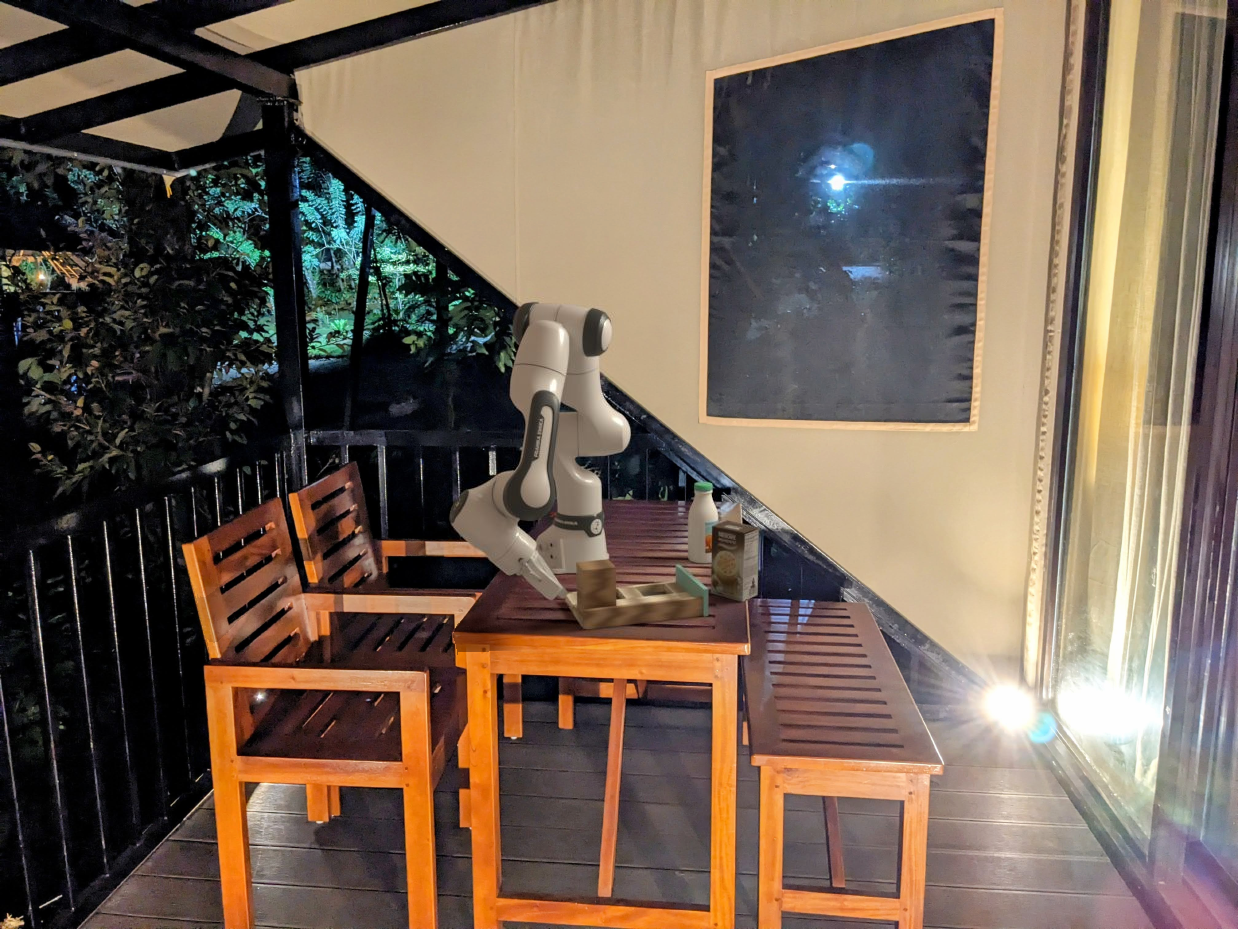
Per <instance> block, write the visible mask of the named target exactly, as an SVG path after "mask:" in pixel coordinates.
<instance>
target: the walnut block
mask: <svg viewBox="0 0 1238 929" xmlns="http://www.w3.org/2000/svg"><path fill="white" fill-rule="evenodd" d="M616 568H617V566H615V564H613V563H612V561H610V560H609V559H605V560H595V561H584V562H576V573H575V574H576V575H575V576H576V592H577V608H578V609H579V611H580V612H581V614H582V610H584V609H593V608H601V607H610V606H616V587H617V569H616Z"/></svg>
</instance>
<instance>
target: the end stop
mask: <svg viewBox="0 0 1238 929" xmlns="http://www.w3.org/2000/svg"><path fill="white" fill-rule="evenodd" d="M675 581H676V582H677V583H678V584H679V585H680V586H681V587H682V588H683V589H684V590H685V591H686V592H688V593H689V594H690V595H691V596H692V597H699V596H702V597H703V616H702V617H708V616H709V588H708V587H707V586H706V585H704V583H702V582H701V581H700V580H699V579H698V578H696V577H695V576H694V575H693V574H692V573H691V572H689V571H688V570H687V569H686V568H684V566H682V564H675Z"/></svg>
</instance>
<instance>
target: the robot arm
mask: <svg viewBox="0 0 1238 929" xmlns="http://www.w3.org/2000/svg"><path fill="white" fill-rule="evenodd" d="M512 335H513V338H514V340H515V342H516V343H517V345H518V346H519V347H518V349H517V351H516V355H515V359H514V363H513V367H512V372H511V376H510V385H509V387H510V388H509V397H510V399H511V401H512V403H513V405H514V406H515V407H516V409H518V410H519V411H520V412H521V413H522V415H523V418H524V420H525V429H524V436H523V442H522V450H521V455H520V461H519V464H518V466H517V467H516V469H515V470H507V471H502V472H500V473H498V474H495V476H494V477H492V478H491V479H490V480H488V481H487V482H485V483H483V484H481V485H478V486H477V487H474V488H470V489H465V490H463V491H462V492H461V493H460V495H459V496H458V497H457V498H456V499H455V501H454V502H453V505H452V506H451V509H450V513H449V521H450V524H451V526H452V527H453V529H454V530H455V531H456V532H457V533H458V534H459V536H460V537H462V538H463V539H464V540H465V541H466V542H468V544H470V545H471V546H473V548H475V549H477V550H479V551H481V552H482V553H484V555H486V557H487V559H488V560H489V561H490V562H491V563H493V564H494V565H495V566H496V567H497V568H499V569H500V570H501V571H502V572H503V573H505V574H506V575H507V576H512V575H514V574H515V575H517V576H523V577H524V579H525V580H526V581H527V582H528V583H529V584H530V585H531V586H532V587H533V588H534V589H536V590H537V591H538V592H539V593H540V594H542V596H544V597H545V598H546V599H548V600H549V601H553V600H555V598H557V596H558V597H559V598H561V599H565V597H566V595H567V594H568V590H567V589H566V588H565V587H564V586H563V585H562V584H561V583H560V582H559V580H558V579H557V577H556V576H555V574H557V575H558V574H559V575H560V574H576V562H584V561H595V560H605V559H608V560H609V559H610V553H608V549H607V542H606V541H607V540H606V534H605V529H604V524H605V514H604V509H603V503H602V502H603V501H602V481H601V479H600V478H599V477H598V475H597V474H595V473H594V472H593V471H590V470H588V469H586V468H583V467H581V466H580V465H579V464H578V463H577V462H576V458H578V457H605V456H610V455H615V454H618V453H622V452H624V450H625V449H627V447H628V446H629V444H630V441H631V440H630V439H631V427H630V424H629V421H628V420H627V419H626V417H625V416H624V415H623V414H622V413H620V412H619V411H617V410H616V409H614V408H613V407H612V406H611V405H610V404H609V403H608V402H607V400H606V398H605V397H604V394H603V391H602V386H601V375H600V374H601V373H600V372H601V371H600V356H601V355H603V354H604V353H606V352H607V350H608V349H609V346H610V343H611V340H612V338H613V337H612V336H613V328H612V321H611V318H610V316H609V315H608V313H606V312H605V311H603V310H601V309H598V308H594V307H592V308H589V307H585V306H581V305H577V304H570V303H549V302H548V303H545V302H544V303H540V302H539V301H531V302H525V303H523V304H521V305H520V307H518V308H517V309H516V311H515V313H514V317H513V322H512ZM561 403H562V404H564V405H565V406H568V407H569V408H572V409H574V410H575V411H562V412H561ZM556 499H557V510H556V511H552V512H550V511H551V510H552V508H553V506H554V504H555V502H556V501H555V500H556ZM549 512H550V513H549ZM548 514H552V515H550V518H553V521H552V524H551V526H549V527H548V528H547V529H546V530H545V531H543V532H542V533H541V534H539V535H538V536H537V538H536V540H534V539H533V537H531V536H530V534H528V533H526V531H524V530H523V529H522V528H520V526H518V525H519V524H518V523H519V521H520V520H521V521H527V522H528V521H529V522H532V521H533V522H534V521H538V520H540V519H542V518H544V517H545V516H547V515H548Z"/></svg>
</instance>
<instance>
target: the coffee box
mask: <svg viewBox="0 0 1238 929" xmlns="http://www.w3.org/2000/svg"><path fill="white" fill-rule="evenodd" d="M759 535H760V527H758V526H755V525H750V524H747V523H746V524H745V523H742V522H741V523H740V522H736V521H733V520H724V521H721V522H718V524H716V525H714V526H712V561H711V563H710V564H711V575H710V593H711V594H713V595H716V596H720V597H724V598H727V599H731V600H734V601H738V602H741V603H742V602H746V601H748V600H749V599H752V598H753V597H756V596H758V582H759V577H758V576H759V541H760V539H759V538H760V537H759ZM746 598H747V600H746Z"/></svg>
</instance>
